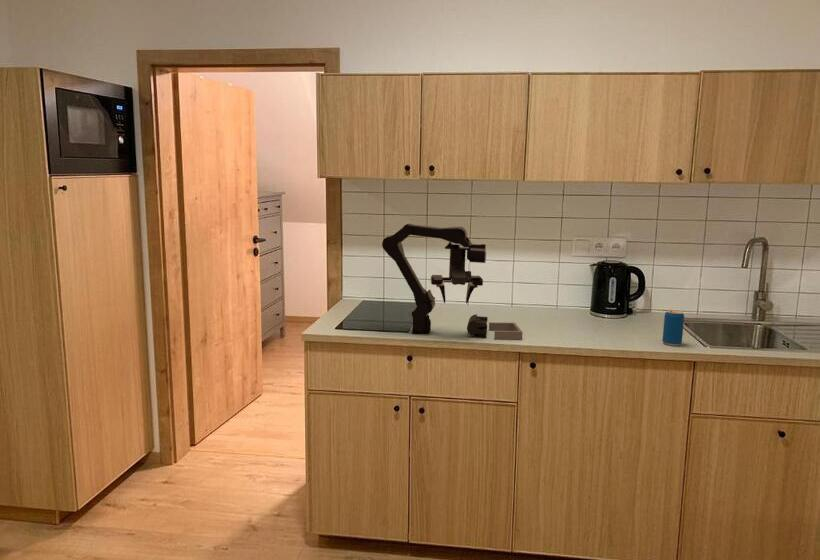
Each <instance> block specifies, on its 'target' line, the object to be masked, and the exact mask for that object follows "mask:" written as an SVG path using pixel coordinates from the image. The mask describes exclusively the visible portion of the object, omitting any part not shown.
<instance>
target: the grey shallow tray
mask: <svg viewBox="0 0 820 560" xmlns="http://www.w3.org/2000/svg"><path fill="white" fill-rule="evenodd" d="M488 331H493V332H494V335H493V336H494V337H493V338H494V340H496V341H501V340H502V341H503V340H504V341H507V340H508V341H522V340H523V330H522V329H521V328H520V327H519V325H517V322H502V321H501V322H496V321H495V322H494V321H493V322H491V321H490V322H489V321H488Z"/></svg>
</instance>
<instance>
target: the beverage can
mask: <svg viewBox="0 0 820 560" xmlns="http://www.w3.org/2000/svg"><path fill="white" fill-rule="evenodd" d="M663 317H664V318H663V319H664V320H663V328H662V329H663V330H662V342H663V343H664V344H665V346H671V347H679V346H680V345H681V344H682V343H683V334H684V322H685V315H684V312H683V311H682V310H678V309H666V312H665V313H664V316H663Z"/></svg>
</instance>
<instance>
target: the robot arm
mask: <svg viewBox="0 0 820 560" xmlns="http://www.w3.org/2000/svg"><path fill="white" fill-rule="evenodd" d="M409 236H416V237H417V236H419V237H423V238H424V237H425V238H433V239H434V238H435V239H441V240H443V241H446V242H448V243H447V244H446V246H444V249H445V250H449V266H448V267H449V268H448V270H449V271H448V277H444V276H442V274H432V275H431V276H430V284H431V285H432V286H433V285H435V286H436V288H439V290H440V294H441V297H442V301H443V304H446V287H445V283H452V285H453V286H454V285H455V286H457V285H460V286H461V285H462V286H465V285H466V284H467V288H466V295H465V304H467V305H468V304H469V303H468V302H470V301H469V300H470V298H471V295H472V293H473V292H474V289H476V288H479V286H481V287H482V286H483V285H484V280H483V278H482V277H481V275H472V271H471V270H466V259H467V260H468V261H469V263H478V264H479V263H480V264H486V262H487V261H486V260H487V248H486V246H487V244H486V243H480V244H478V243H476V244H475V243H472V241H471V240H470V238H469V237H468V233H467V230H466V228H465V227H463V226H450V227H438V226H429V225H428V226H427V225H420V224H414V223H413V224H412V223H407V224H405V225H403V226H402V228H401V229H399V230H397V232H395V233H394V234H391V235H389V236H386V237H385V238H383V239H382V243H381V247H382V249H383V250H384V251H385V253H386V254H387V255H388V256H389V257H390V258H391V260H393V262H395V264H396V265H397V268H398V270H399V271H400V273H401V275H402V276H403V278H404V280H405V282H406V283H407V286H408V287H409V288H410V289H409V290H411V292H412V295H413V297H414V298H413V299H414V302H415V305H416V307H415V308H414V309H413V311H411V316H412V317H411V318H412V320H411V321H412V322H411V334H414V335H421V334H423V335H425V334H426V335H428V334H429V335H430V332H431V331H432V330H431V329H432V319H430V316H429V314H430V313H431V312H433V310H434V308H435V307H436V300H435V299H436V297H435V296H434V295H433V293H432V291H431V289H428V290H426V289H425V287H423V285H422V283H421V282H420V280H419V278H418V276H417V274H416V273H415V271H414V268H413V267H412V265H411V264H410V262H409V261H408V258H407V257H406V255H405V251H404V247H403V244H402V242H403V241H405V240H406V239H407V238H408V237H409Z"/></svg>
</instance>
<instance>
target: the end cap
mask: <svg viewBox="0 0 820 560" xmlns="http://www.w3.org/2000/svg"><path fill="white" fill-rule="evenodd" d="M488 320H489V318H488V316H478V314H477V313H476V314H473V315H470V317H469V319H468V322H467V326H466V331H467V333H468V334H469V335H470V336H471V337H472V338H475V339H486V338H487V335H488V322H489V321H488Z"/></svg>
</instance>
